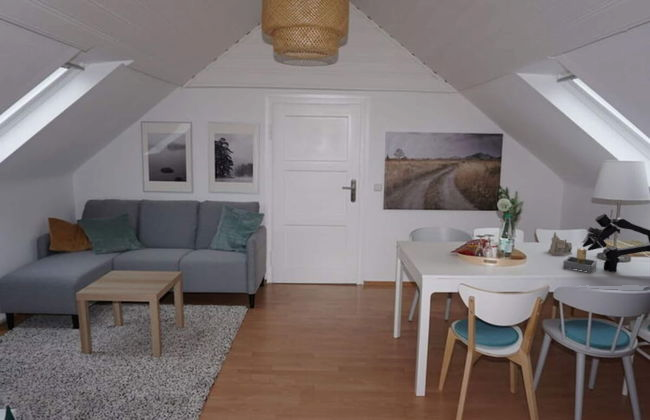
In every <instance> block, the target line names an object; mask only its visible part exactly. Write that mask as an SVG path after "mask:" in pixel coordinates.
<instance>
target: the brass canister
mask: <svg viewBox="0 0 650 420" xmlns="http://www.w3.org/2000/svg"><path fill="white" fill-rule="evenodd" d="M587 251H588V250H587V248H586V249H585V248H577V250H576V256H575V257H576V263H580V264H585V260H586V259H587Z"/></svg>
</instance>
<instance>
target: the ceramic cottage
mask: <svg viewBox="0 0 650 420" xmlns="http://www.w3.org/2000/svg"><path fill="white" fill-rule="evenodd" d="M572 250H573V244H572V242H567V239H566V238H564V240H563V239H560V238H559V236H557V232H556V231H555V232H553V237H552V238H551V244H550V247H549V249H548V250H547V251H548V253H549V254H550V255H552V256H558V257H566V256H569V255H570V256H572V254H573V252H572Z"/></svg>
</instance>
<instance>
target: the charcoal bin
mask: <svg viewBox="0 0 650 420" xmlns="http://www.w3.org/2000/svg"><path fill="white" fill-rule="evenodd" d="M576 257H577V256H572V255H570V256H569V255H568V257H567V258H566V259H564V261H563V265H562V266H563V267H564V268H563V267H562V268H563V269H566V268H571V269H570V270H572V269H577V270H582V271H581V272H583V271H587V272H586V273H588V272H592V271H593V270H594V269H595V270H596V269H597V263H598V261H597V260H594V259H588V258H586V260H585V264H580V263H576ZM577 270H576V271H577ZM595 270H594V271H595ZM594 271H593V272H594ZM593 272H592V273H593Z"/></svg>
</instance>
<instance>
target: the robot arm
mask: <svg viewBox="0 0 650 420" xmlns="http://www.w3.org/2000/svg"><path fill="white" fill-rule="evenodd" d="M594 220H595V222H596V223H597V224H598V226H600V227H601V228H603V229H599V228H597V227H595V228H594V227H592V226H590V227H588V229H587V232H588V233H587V235H586V237H587V239H586V240H585V242H584V243H583V244H582V248H585V247H588V248H586V250H587V251H588V252H589V251H593V250H597V249H603V250H602V255H603V256H604V257H605V261H604V263H603V271H607V270H609V271H608V272H612V271H614V273H616V272H617V271H618V263H620V258H619V257H621V256H626V255H633V254H639V253H646V252H647V253H648V252H650V229H649V228H645V227H642V226H640V225H637V224H634V223H632V222H630V221H628V220H626V219H625V218H623V217H616V218H611V219H610V218H609V216H608V215H607V214H606V213H604V214H601V215H599V216H597V217H595V219H594ZM621 229H624V230H631V231H633V232H637V233H638V234H639V233H640V234H642V235H645V236H646V237H647V240H648V242H646V243H644V244H640V245H633V246H627V247H621V248H618V247H616V246H614V245H613V246H608V245H607V242H605V241H606V240H607V239H608V240H609V239H610V237H612V235H614V234H615V233H617V234H621Z"/></svg>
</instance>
